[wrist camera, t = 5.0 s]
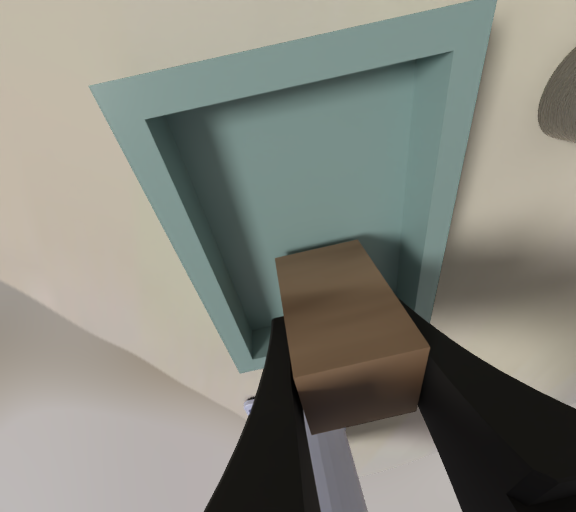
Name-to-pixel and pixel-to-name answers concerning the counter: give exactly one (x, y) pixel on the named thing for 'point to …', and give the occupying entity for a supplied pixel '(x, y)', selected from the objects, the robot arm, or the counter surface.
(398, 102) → the parts tray
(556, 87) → the grey peg
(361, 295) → the walnut block
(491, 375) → the robot arm
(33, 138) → the counter surface
